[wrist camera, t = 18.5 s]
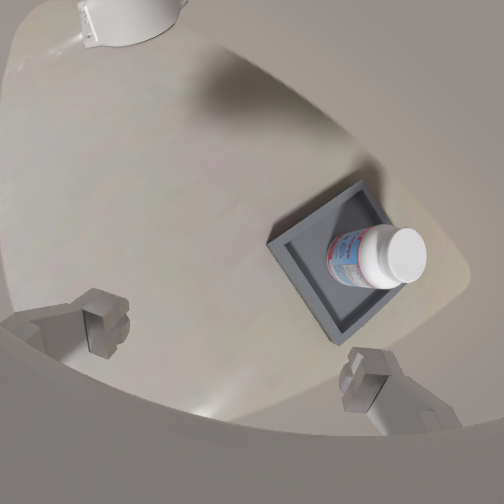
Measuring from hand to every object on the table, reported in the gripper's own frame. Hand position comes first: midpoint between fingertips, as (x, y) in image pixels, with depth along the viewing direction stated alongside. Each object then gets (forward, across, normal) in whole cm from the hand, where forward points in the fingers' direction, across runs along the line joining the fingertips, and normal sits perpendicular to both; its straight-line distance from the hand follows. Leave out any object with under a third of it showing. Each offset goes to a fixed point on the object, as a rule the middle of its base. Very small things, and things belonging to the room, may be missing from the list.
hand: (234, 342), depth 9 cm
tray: (+24, -10, +3) cm, 26 cm away
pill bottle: (+23, -10, +3) cm, 26 cm away
